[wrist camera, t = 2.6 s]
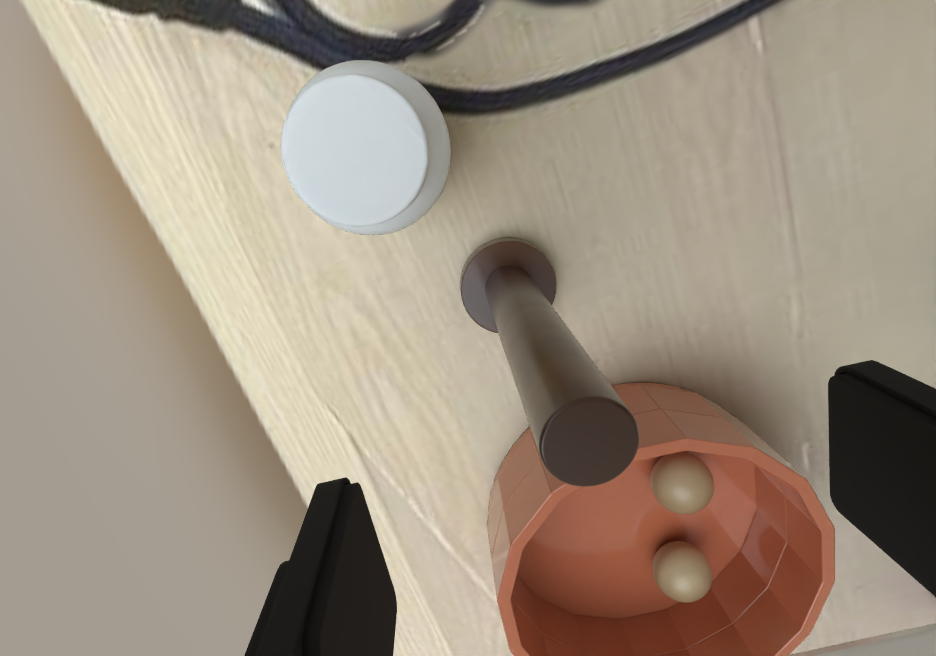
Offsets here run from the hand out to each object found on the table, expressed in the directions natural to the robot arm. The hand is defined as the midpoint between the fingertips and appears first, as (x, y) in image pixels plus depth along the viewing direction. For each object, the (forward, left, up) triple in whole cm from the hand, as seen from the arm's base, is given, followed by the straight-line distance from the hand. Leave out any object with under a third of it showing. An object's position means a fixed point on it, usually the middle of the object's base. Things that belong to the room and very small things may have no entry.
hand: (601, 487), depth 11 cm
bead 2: (+17, +6, -14) cm, 23 cm away
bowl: (+14, +4, -16) cm, 22 cm away
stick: (0, 0, -16) cm, 16 cm away
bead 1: (+11, +7, -14) cm, 19 cm away
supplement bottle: (-7, -4, -16) cm, 18 cm away
